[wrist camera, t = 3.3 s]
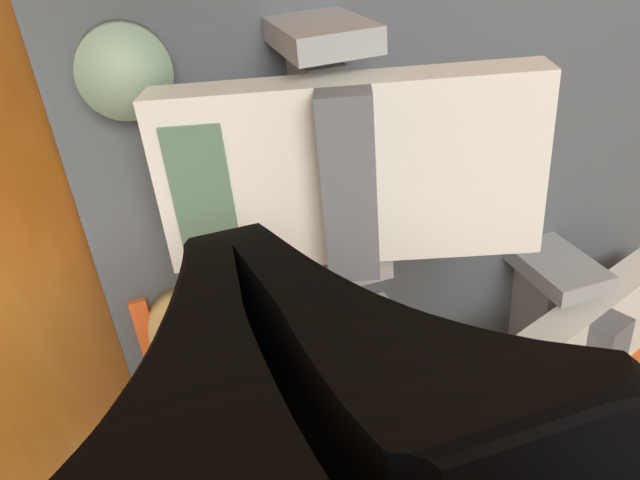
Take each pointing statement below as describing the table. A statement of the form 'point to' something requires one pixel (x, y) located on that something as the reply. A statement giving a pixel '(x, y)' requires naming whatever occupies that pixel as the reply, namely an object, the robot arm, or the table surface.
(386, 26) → the breaker panel
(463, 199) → the rocker
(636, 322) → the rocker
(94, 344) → the table surface
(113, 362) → the table surface
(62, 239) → the table surface
